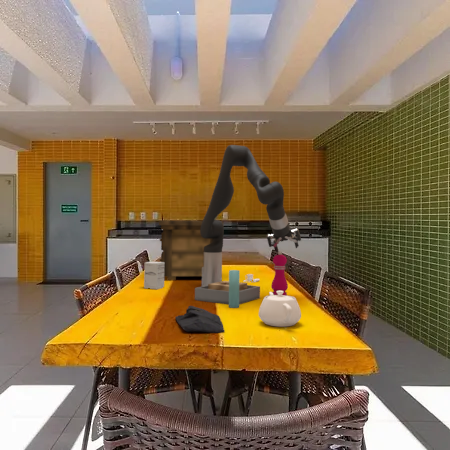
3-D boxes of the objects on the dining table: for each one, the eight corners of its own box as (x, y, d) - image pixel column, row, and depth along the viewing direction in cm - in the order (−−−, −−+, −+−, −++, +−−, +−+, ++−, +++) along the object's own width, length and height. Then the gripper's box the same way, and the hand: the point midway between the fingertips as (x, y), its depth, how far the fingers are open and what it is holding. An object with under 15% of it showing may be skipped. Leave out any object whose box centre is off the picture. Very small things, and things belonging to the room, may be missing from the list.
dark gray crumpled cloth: (175, 335, 129) (175, 319, 129) (175, 318, 151) (175, 305, 151) (227, 334, 131) (227, 318, 131) (219, 318, 153) (220, 304, 153)
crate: (222, 281, 242) (223, 221, 241) (158, 281, 238) (158, 220, 238) (217, 273, 277) (217, 221, 276) (160, 273, 273) (161, 220, 272)
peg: (226, 307, 170) (227, 270, 170) (232, 305, 173) (232, 269, 173) (235, 308, 168) (235, 271, 168) (240, 306, 171) (241, 270, 171)
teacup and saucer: (261, 282, 242) (261, 274, 242) (252, 283, 236) (252, 275, 236) (249, 280, 248) (249, 273, 248) (240, 281, 242) (240, 274, 242)
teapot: (311, 330, 135) (311, 295, 135) (267, 332, 133) (268, 296, 133) (288, 315, 157) (288, 285, 157) (250, 316, 154) (251, 285, 154)
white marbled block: (143, 288, 213) (143, 262, 213) (151, 286, 220) (151, 261, 220) (156, 289, 210) (157, 263, 210) (164, 287, 217) (164, 261, 217)
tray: (194, 299, 185) (194, 287, 184) (221, 293, 201) (221, 282, 201) (235, 305, 174) (235, 292, 174) (259, 298, 191) (259, 286, 190)
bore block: (208, 297, 186) (208, 284, 186) (223, 293, 196) (223, 280, 196) (232, 300, 179) (232, 286, 179) (247, 296, 189) (247, 283, 189)
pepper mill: (289, 295, 197) (290, 250, 197) (284, 298, 191) (285, 251, 190) (274, 294, 200) (274, 250, 200) (269, 296, 194) (269, 251, 193)
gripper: (294, 213, 188) (301, 239, 199) (262, 220, 191) (270, 246, 202) (296, 224, 183) (303, 251, 193) (263, 232, 186) (272, 258, 196)
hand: (287, 248), depth 197 cm, fingers open, 8 cm apart
